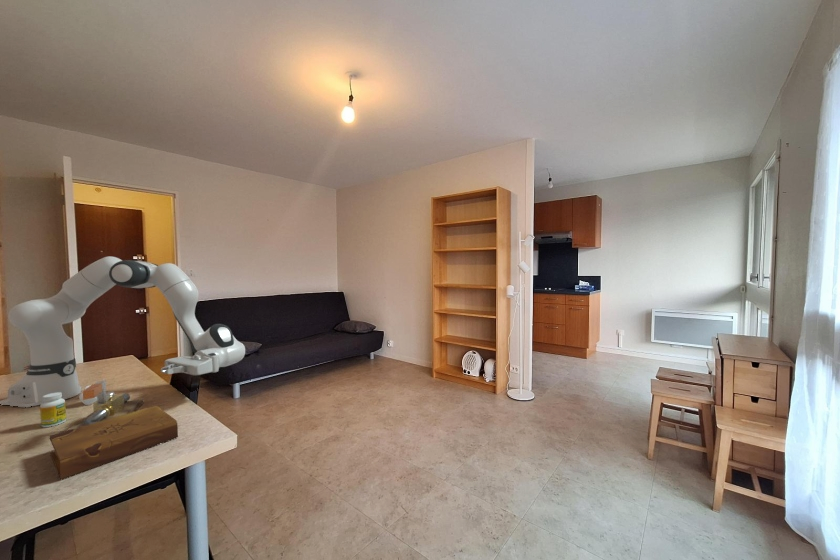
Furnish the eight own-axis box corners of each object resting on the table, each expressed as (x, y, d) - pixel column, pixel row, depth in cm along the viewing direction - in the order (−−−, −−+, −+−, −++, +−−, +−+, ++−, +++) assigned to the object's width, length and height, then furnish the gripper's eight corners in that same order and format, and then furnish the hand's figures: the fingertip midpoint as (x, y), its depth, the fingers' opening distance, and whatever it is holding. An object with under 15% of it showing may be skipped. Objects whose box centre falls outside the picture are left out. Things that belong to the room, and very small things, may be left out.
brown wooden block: (61, 483, 75) (59, 459, 75) (50, 456, 86) (49, 435, 86) (178, 439, 94) (177, 420, 94) (157, 422, 105) (156, 404, 105)
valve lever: (104, 396, 108) (103, 375, 108) (115, 395, 109) (114, 373, 109) (82, 416, 93) (81, 391, 93) (96, 414, 95) (94, 389, 94)
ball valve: (101, 426, 99) (100, 409, 99) (79, 429, 97) (78, 411, 97) (133, 401, 118) (133, 386, 118) (116, 403, 116) (115, 388, 116)
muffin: (85, 407, 115) (84, 388, 115) (75, 405, 118) (74, 386, 117) (106, 401, 121) (105, 382, 121) (97, 398, 123) (96, 381, 123)
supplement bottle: (49, 421, 105) (47, 392, 105) (70, 418, 107) (69, 390, 107) (36, 429, 100) (34, 398, 100) (58, 426, 102) (57, 396, 101)
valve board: (113, 428, 100) (113, 423, 100) (67, 434, 96) (67, 429, 96) (143, 403, 119) (143, 399, 119) (106, 407, 115) (105, 403, 115)
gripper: (188, 350, 131) (148, 359, 119) (220, 355, 122) (180, 365, 110) (189, 365, 131) (148, 376, 119) (220, 372, 123) (181, 384, 110)
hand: (164, 371), depth 114 cm, fingers closed
